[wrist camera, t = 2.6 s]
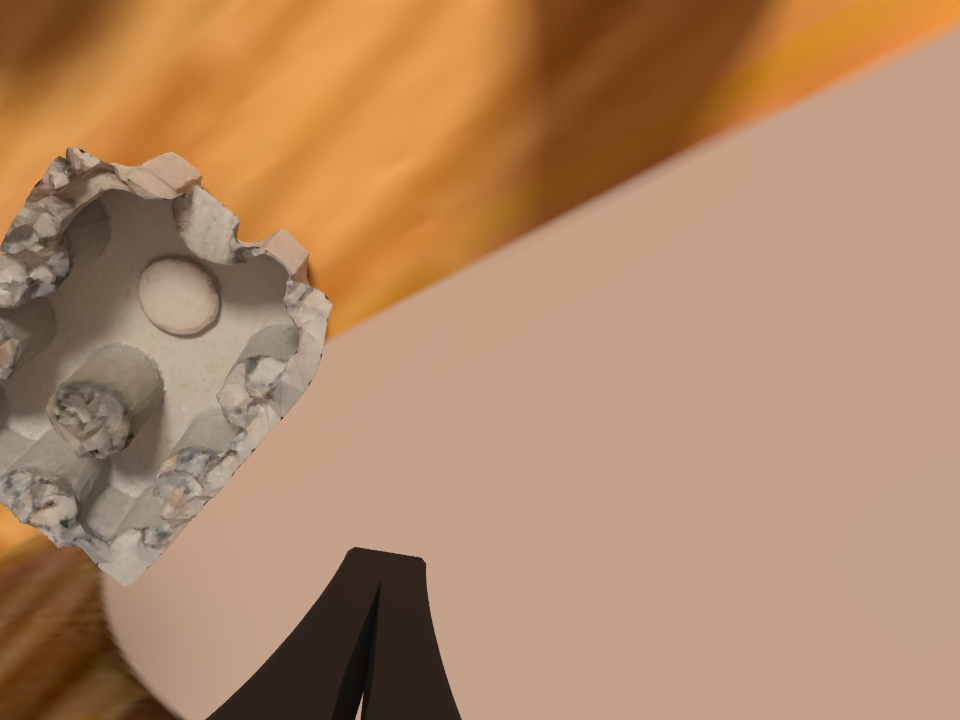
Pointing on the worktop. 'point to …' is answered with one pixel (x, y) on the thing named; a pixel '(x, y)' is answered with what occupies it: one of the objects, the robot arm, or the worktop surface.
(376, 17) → the worktop surface
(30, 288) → the egg carton
